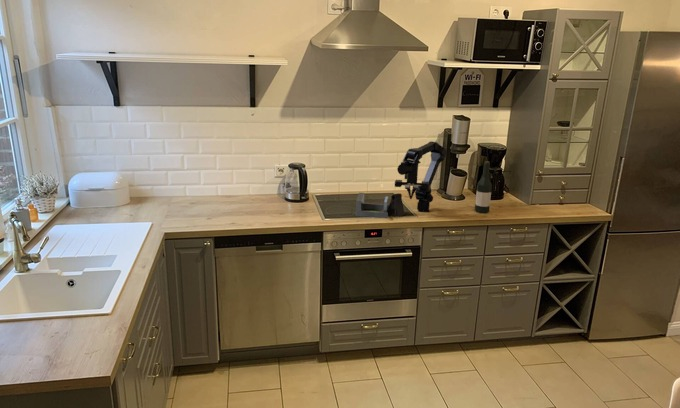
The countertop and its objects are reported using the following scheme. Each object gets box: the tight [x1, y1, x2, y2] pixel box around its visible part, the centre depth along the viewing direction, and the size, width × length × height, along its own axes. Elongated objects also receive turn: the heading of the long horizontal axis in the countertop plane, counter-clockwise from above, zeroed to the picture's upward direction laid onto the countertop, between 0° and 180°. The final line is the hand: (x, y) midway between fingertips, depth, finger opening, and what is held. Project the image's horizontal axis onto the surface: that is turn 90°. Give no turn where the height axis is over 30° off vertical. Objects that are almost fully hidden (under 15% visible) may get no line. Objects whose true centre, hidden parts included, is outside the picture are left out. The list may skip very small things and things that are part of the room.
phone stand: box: [387, 192, 406, 218], centre depth 291 cm, size 9×6×12 cm, turn 47°
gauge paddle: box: [383, 196, 389, 214], centre depth 290 cm, size 2×18×8 cm, turn 172°
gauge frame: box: [354, 192, 390, 219], centre depth 293 cm, size 18×17×9 cm
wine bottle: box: [474, 160, 493, 215], centre depth 298 cm, size 8×8×30 cm
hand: (410, 198), depth 289 cm, fingers closed
